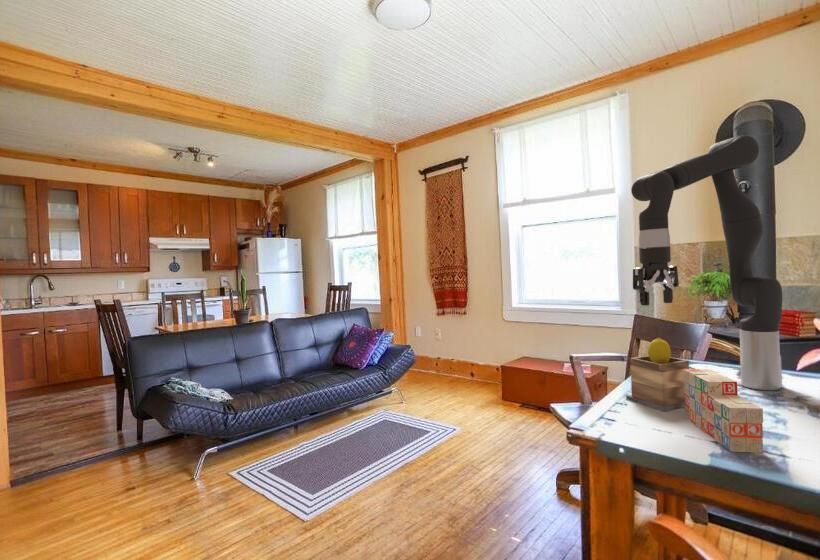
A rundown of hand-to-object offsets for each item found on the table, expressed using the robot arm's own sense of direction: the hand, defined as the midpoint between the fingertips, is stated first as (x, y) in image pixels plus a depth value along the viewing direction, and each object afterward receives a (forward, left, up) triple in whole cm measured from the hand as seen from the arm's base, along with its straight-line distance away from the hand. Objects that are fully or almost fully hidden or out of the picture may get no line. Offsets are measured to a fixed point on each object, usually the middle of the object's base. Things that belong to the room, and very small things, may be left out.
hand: (656, 304), depth 117 cm
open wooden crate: (0, 0, -28) cm, 28 cm away
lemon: (0, 0, -18) cm, 18 cm away
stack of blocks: (+7, +21, -28) cm, 36 cm away
